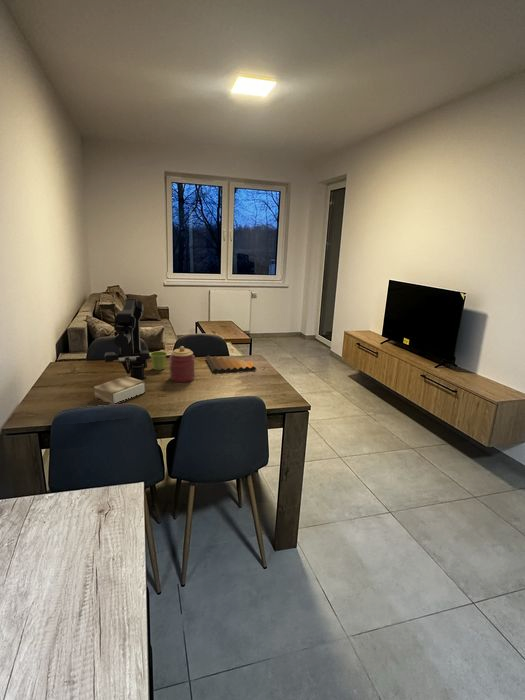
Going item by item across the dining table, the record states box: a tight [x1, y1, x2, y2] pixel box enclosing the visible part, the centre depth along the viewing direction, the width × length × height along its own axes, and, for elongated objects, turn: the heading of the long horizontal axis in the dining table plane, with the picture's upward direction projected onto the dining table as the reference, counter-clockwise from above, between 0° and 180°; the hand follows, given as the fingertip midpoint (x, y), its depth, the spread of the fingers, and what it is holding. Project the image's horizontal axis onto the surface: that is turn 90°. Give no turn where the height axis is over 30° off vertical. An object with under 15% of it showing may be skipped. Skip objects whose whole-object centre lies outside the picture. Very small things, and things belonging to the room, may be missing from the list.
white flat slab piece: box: [113, 381, 146, 404], centre depth 182 cm, size 18×1×5 cm, turn 148°
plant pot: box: [149, 351, 168, 371], centre depth 223 cm, size 9×9×9 cm
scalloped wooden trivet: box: [205, 354, 257, 374], centre depth 235 cm, size 25×3×25 cm
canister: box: [169, 345, 196, 383], centre depth 208 cm, size 13×13×18 cm
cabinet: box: [93, 375, 144, 403], centre depth 186 cm, size 18×12×6 cm, turn 149°
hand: (128, 373), depth 182 cm, fingers closed
